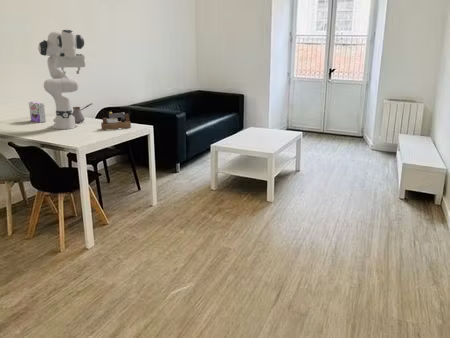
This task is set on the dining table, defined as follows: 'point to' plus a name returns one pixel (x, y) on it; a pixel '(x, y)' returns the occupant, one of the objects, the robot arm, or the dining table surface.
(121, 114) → the lever
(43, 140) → the dining table surface
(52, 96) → the robot arm
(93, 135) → the dining table surface
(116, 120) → the cap
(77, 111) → the coffee pot
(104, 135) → the dining table surface
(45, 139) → the dining table surface
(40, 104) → the candy box
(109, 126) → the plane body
